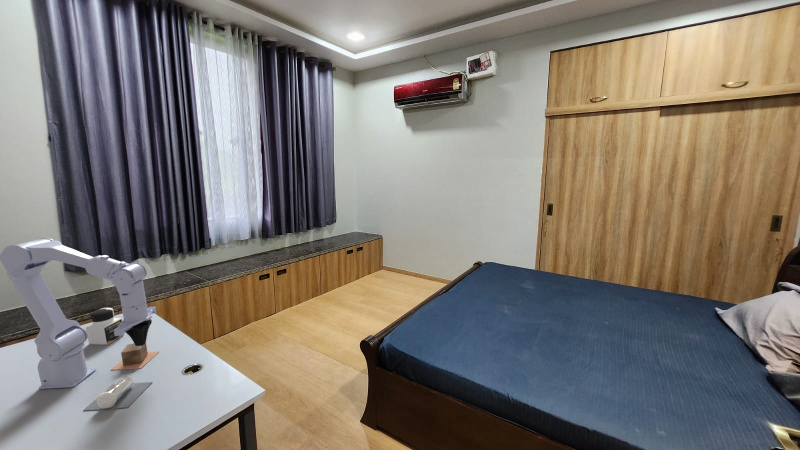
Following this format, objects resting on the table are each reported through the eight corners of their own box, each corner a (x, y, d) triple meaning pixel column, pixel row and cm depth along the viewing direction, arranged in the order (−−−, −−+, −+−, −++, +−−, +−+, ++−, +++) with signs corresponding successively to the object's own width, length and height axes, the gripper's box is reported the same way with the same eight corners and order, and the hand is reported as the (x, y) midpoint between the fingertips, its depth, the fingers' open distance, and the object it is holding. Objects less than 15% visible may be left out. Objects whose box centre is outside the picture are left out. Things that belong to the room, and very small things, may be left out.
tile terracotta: (110, 370, 99) (110, 369, 99) (131, 353, 108) (131, 353, 108) (141, 368, 100) (141, 367, 100) (159, 352, 109) (159, 351, 109)
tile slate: (83, 410, 83) (83, 410, 83) (112, 385, 93) (112, 384, 93) (127, 407, 84) (127, 407, 84) (152, 382, 94) (152, 382, 94)
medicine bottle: (107, 345, 113) (101, 314, 111) (88, 344, 113) (82, 314, 111) (124, 334, 120) (119, 306, 118) (106, 334, 120) (101, 305, 118)
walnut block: (123, 366, 101) (121, 352, 100) (129, 357, 106) (127, 344, 105) (142, 362, 103) (140, 349, 102) (147, 354, 107) (145, 341, 107)
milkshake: (133, 393, 92) (107, 417, 82) (115, 385, 91) (87, 408, 81) (141, 380, 92) (116, 402, 82) (124, 372, 91) (96, 394, 81)
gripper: (130, 314, 86) (137, 358, 89) (163, 293, 101) (169, 331, 103) (102, 315, 86) (111, 359, 88) (140, 294, 100) (146, 332, 102)
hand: (140, 344), depth 96 cm, fingers closed
